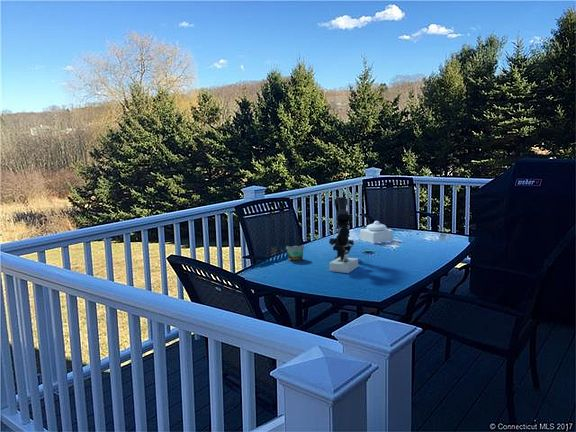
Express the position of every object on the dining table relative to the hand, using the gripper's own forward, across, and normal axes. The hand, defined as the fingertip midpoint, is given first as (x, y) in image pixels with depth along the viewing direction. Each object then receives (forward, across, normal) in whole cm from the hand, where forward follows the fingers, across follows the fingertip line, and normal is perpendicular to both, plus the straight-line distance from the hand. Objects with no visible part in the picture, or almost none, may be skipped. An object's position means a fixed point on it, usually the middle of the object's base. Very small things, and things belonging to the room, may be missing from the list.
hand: (343, 259), depth 284 cm
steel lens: (+2, 0, 0) cm, 2 cm away
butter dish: (+7, -82, -8) cm, 83 cm away
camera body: (+6, 0, 0) cm, 6 cm away
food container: (+6, -6, -36) cm, 37 cm away
